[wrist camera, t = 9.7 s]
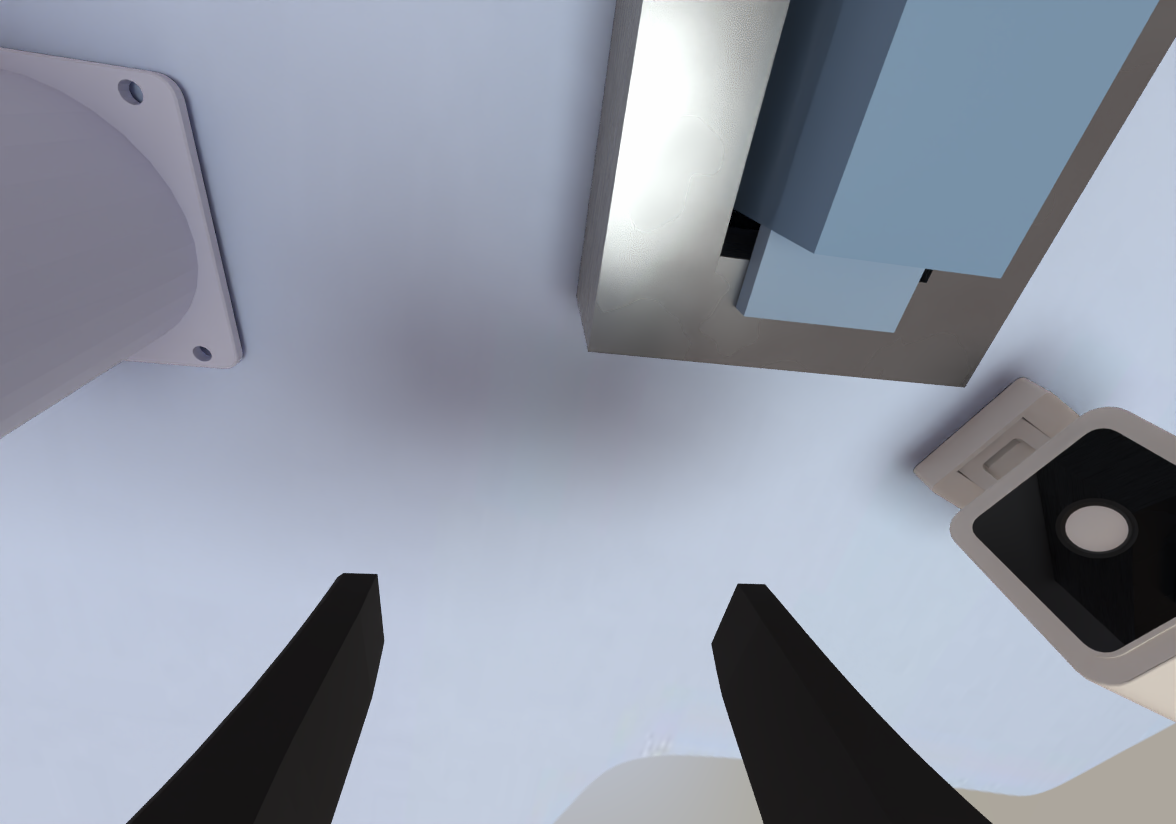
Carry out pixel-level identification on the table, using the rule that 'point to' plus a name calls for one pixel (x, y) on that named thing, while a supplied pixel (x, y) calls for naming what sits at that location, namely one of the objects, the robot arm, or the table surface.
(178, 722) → the table surface
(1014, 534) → the security camera
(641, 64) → the frame
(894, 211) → the block
